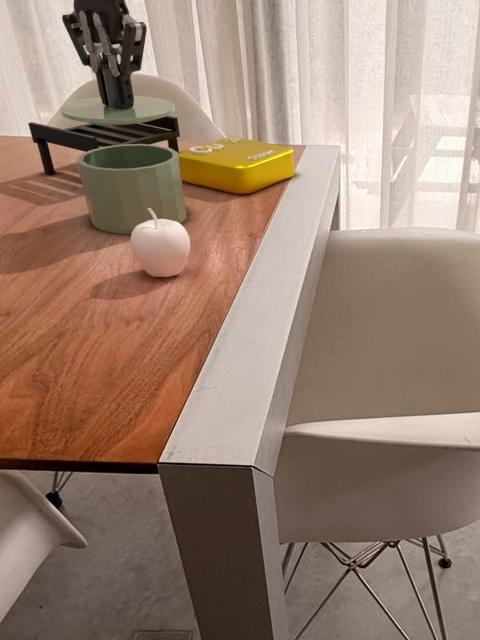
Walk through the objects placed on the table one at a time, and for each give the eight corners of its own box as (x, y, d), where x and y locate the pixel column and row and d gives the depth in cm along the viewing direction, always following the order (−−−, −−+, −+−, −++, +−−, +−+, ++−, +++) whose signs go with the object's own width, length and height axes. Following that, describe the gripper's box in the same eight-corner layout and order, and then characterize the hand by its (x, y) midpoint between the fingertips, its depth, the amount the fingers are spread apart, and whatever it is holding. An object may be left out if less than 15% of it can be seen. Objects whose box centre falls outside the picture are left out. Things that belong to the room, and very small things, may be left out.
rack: (103, 191, 110) (92, 137, 105) (41, 174, 117) (27, 122, 112) (184, 167, 122) (177, 117, 117) (123, 152, 129) (114, 104, 124)
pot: (136, 241, 94) (123, 176, 89) (72, 220, 100) (56, 158, 94) (205, 214, 103) (197, 154, 97) (143, 197, 109) (132, 139, 103)
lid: (113, 134, 85) (104, 83, 81) (38, 116, 91) (26, 68, 87) (198, 114, 94) (193, 67, 91) (125, 99, 100) (117, 55, 97)
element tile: (244, 196, 110) (242, 165, 107) (175, 180, 116) (171, 150, 113) (299, 174, 120) (298, 145, 117) (233, 161, 126) (230, 132, 122)
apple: (126, 270, 86) (113, 205, 81) (177, 257, 90) (167, 194, 85) (152, 288, 82) (139, 221, 77) (204, 274, 86) (195, 209, 81)
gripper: (24, -60, 81) (61, 103, 92) (102, -55, 76) (132, 118, 87) (76, -60, 86) (106, 95, 97) (153, -55, 80) (175, 109, 91)
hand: (118, 105), depth 92 cm, fingers closed on lid, 2 cm apart
